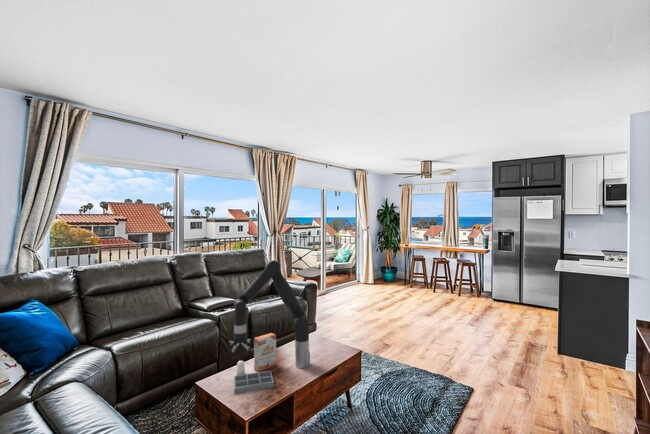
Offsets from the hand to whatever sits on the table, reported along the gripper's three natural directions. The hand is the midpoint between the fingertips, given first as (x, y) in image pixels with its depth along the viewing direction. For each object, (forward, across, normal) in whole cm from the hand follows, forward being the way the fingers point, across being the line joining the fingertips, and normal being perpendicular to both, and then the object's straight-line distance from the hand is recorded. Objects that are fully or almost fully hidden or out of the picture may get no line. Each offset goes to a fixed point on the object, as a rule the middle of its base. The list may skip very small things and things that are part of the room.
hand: (240, 356), depth 203 cm
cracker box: (+11, -16, -4) cm, 20 cm away
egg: (+11, 0, 0) cm, 11 cm away
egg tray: (+11, -7, +15) cm, 20 cm away
